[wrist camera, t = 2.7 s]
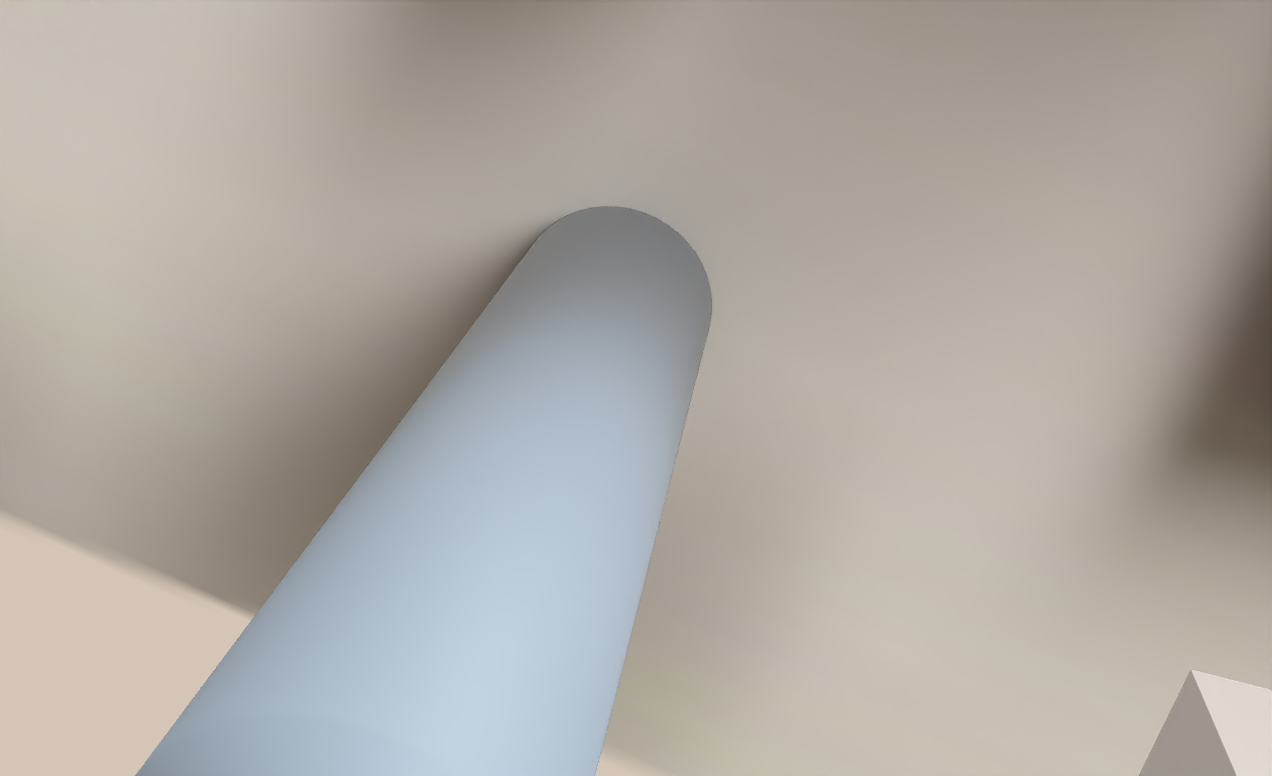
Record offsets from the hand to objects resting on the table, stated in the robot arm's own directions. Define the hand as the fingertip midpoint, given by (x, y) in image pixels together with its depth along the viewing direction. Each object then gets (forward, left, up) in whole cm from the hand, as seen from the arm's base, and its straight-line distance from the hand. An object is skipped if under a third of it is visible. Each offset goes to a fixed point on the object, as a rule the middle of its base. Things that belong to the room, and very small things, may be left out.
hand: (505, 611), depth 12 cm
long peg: (0, 0, -8) cm, 8 cm away
